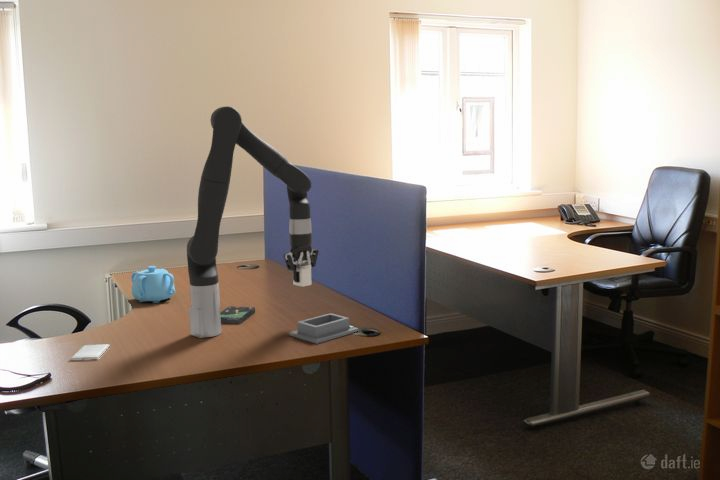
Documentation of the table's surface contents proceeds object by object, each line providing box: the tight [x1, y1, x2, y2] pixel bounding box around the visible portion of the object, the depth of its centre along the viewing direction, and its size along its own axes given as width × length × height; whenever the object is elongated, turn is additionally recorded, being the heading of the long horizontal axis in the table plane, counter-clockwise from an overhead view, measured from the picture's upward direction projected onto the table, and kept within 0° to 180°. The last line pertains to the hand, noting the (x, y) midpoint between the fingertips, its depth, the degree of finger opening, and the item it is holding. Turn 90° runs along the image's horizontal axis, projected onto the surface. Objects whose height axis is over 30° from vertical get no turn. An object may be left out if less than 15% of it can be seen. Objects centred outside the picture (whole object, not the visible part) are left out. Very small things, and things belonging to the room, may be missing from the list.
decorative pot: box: [131, 265, 177, 304], centre depth 297 cm, size 16×16×14 cm
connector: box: [292, 262, 313, 288], centre depth 256 cm, size 4×5×7 cm
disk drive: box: [220, 305, 256, 325], centre depth 268 cm, size 10×3×15 cm
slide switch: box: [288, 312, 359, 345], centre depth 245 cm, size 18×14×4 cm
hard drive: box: [70, 343, 111, 361], centre depth 231 cm, size 2×8×12 cm
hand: (302, 280), depth 256 cm, fingers closed on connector, 4 cm apart
